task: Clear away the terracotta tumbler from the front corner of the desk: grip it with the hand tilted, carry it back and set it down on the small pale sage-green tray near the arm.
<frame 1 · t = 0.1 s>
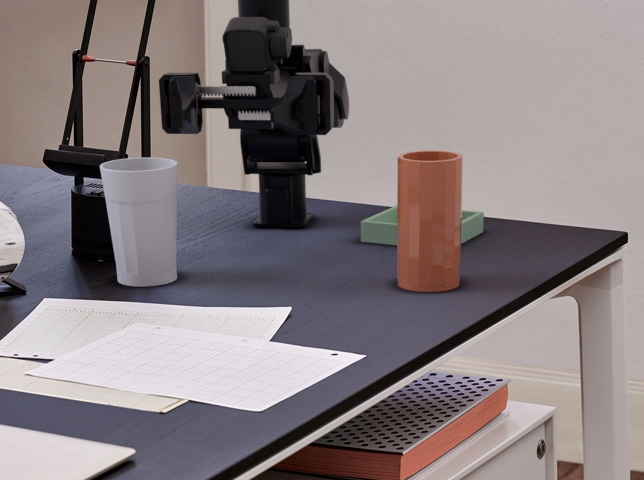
hand: (227, 115, 138), 17 cm above the table, tool horizontal, fingers open, 9 cm apart
tumbler: (428, 284, 140), on the table
cup: (147, 280, 144), on the table
tray: (422, 236, 159), on the table
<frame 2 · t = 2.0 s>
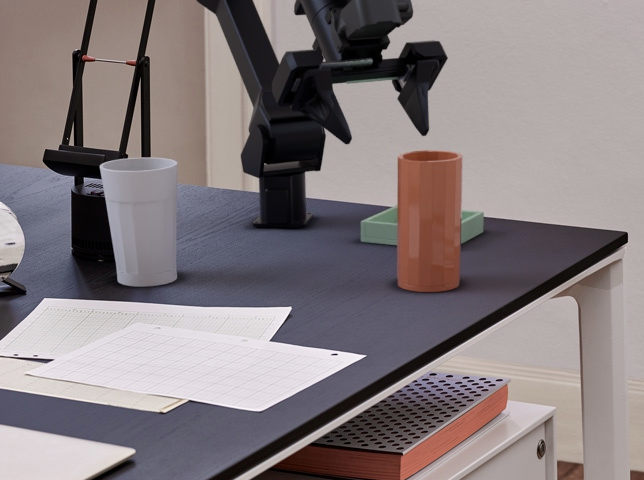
hand: (388, 137, 141), 14 cm above the table, tool tilted 45°, fingers open, 9 cm apart
nothing on the table moved.
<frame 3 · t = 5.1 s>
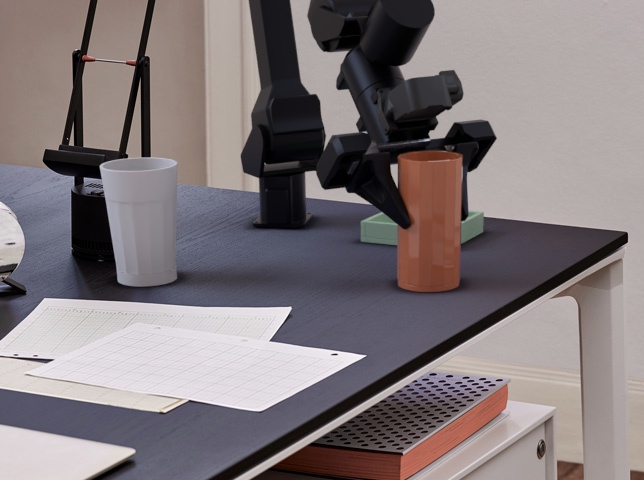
hand: (436, 222, 136), 7 cm above the table, tool tilted 45°, fingers closed on tumbler, 6 cm apart
tumbler: (428, 284, 140), on the table, touching gripper
everything else where it was.
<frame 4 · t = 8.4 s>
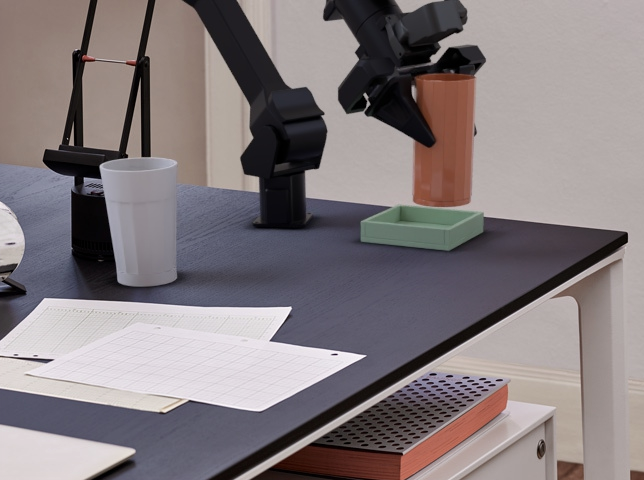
hand: (453, 140, 145), 13 cm above the table, tool tilted 45°, fingers closed on tumbler, 6 cm apart
tumbler: (441, 200, 148), point 6 cm above the table, touching gripper
everything else where it was.
when the fingers open (7 cm above the table, at t = 11.6 s): tumbler stays where it is, resting on tray.
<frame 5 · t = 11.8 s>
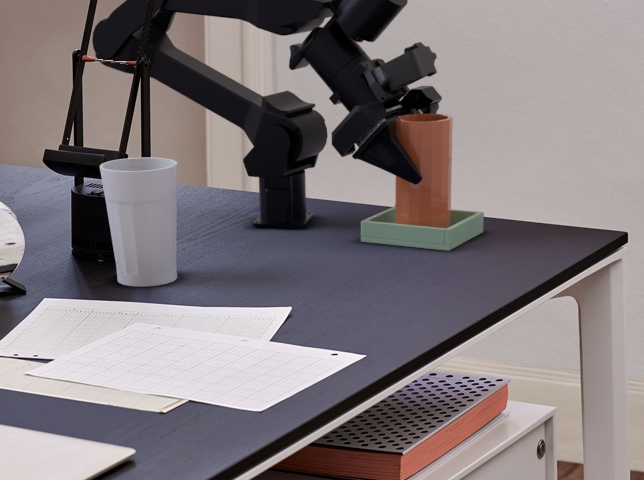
hand: (434, 175, 155), 7 cm above the table, tool tilted 45°, fingers open, 8 cm apart
tumbler: (422, 231, 159), point 1 cm above the table, touching tray
everything else where it was.
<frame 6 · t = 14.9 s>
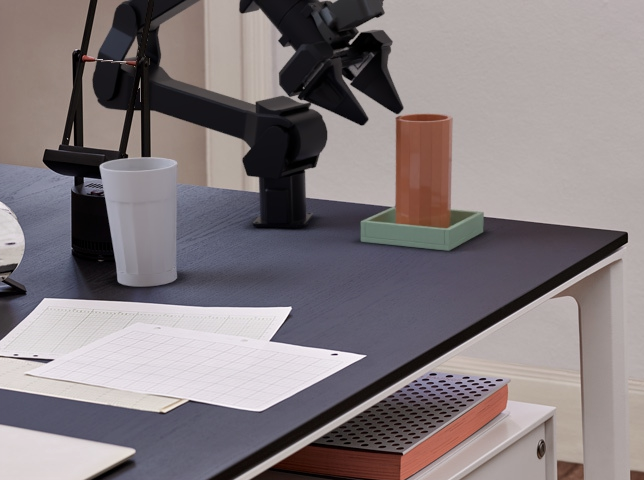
hand: (383, 117, 156), 13 cm above the table, tool tilted 45°, fingers open, 9 cm apart
nothing on the table moved.
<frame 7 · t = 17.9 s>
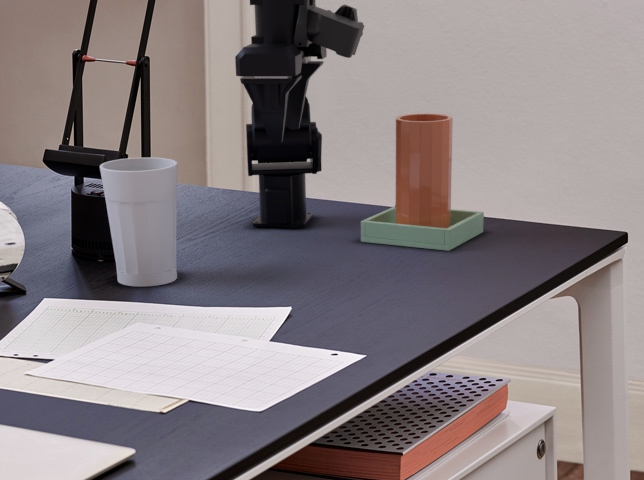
hand: (285, 136, 147), 13 cm above the table, tool pointing down, fingers open, 9 cm apart
nothing on the table moved.
at the end: tumbler inside the target area in the tray (0.0 cm from its centre), point 0.6 cm above the tray's base; tumbler tilted 0° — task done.
